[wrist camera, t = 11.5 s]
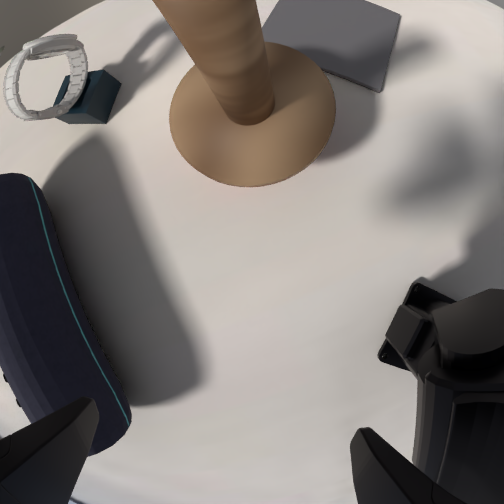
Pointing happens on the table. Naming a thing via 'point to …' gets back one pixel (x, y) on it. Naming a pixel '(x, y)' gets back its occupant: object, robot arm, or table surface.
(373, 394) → the table surface
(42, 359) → the portable speaker
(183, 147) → the lid
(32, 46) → the watch
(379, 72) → the mat
